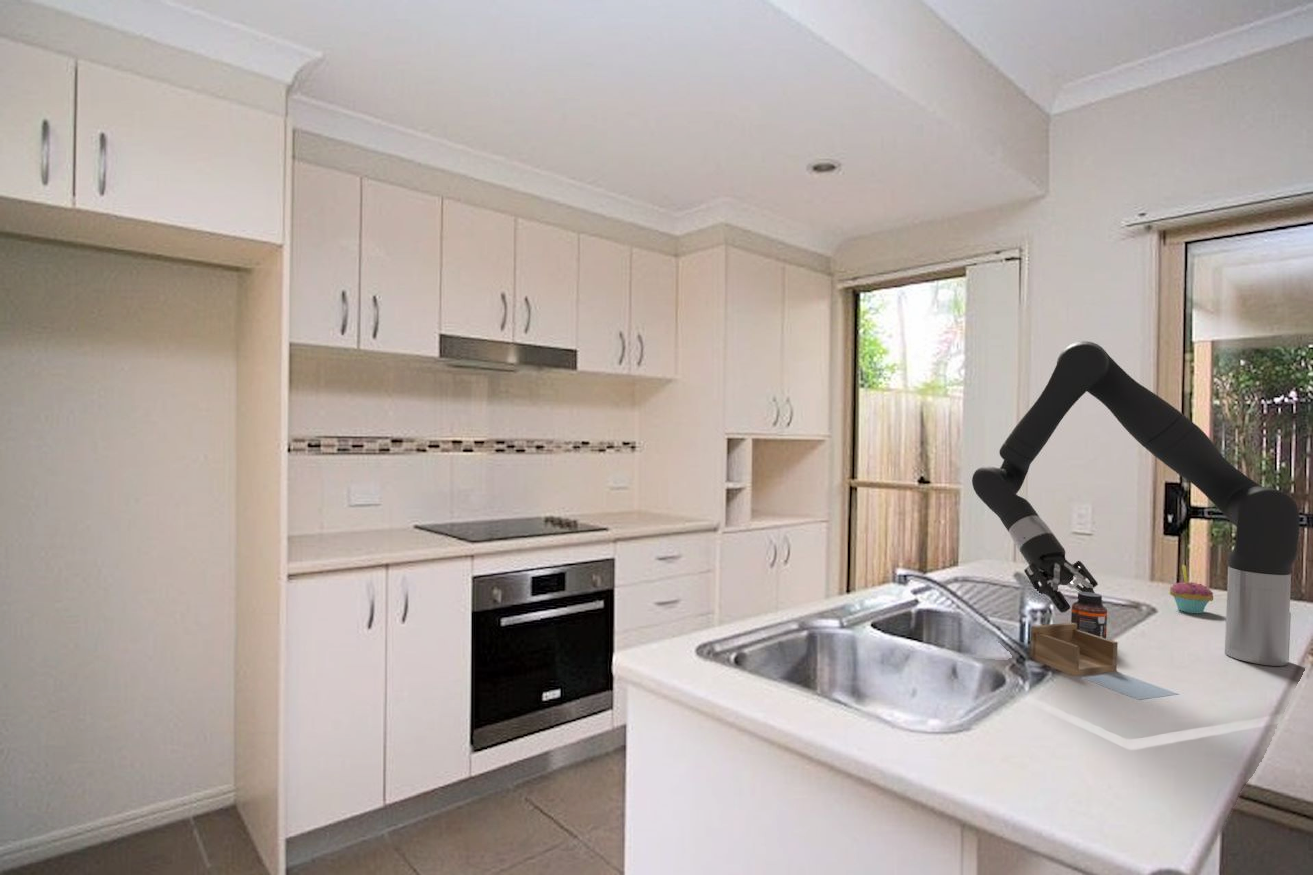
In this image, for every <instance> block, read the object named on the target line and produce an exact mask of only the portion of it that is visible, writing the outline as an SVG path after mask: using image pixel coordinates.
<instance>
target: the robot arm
mask: <svg viewBox="0 0 1313 875" xmlns="http://www.w3.org/2000/svg"><path fill="white" fill-rule="evenodd" d="M1086 393H1088V394H1089V395H1091V396H1092V397H1094V398H1095V399H1096V400H1098V402H1101V403H1102V404H1103V405H1104V406H1105V407H1106V408H1107V409H1108V410H1109V411H1110V412H1111V414H1112V415H1113V416H1114V417H1115V418H1116V420H1117V421H1118V422H1119V423H1120V424H1121V426H1122V427H1123V428H1124V429H1125V430H1126V431H1127V432H1128V433H1129V434H1130V435H1131V436H1132V437H1133V438H1134V439H1135V440H1136V441H1137V442H1138V443H1139V444H1140V445H1141V446H1142V447H1143V448H1145V450H1147V451H1148V452H1150V453H1151V454H1152V455H1153V456H1154V457H1155V458H1157V459H1158V460H1159V461H1161V462H1162V463H1163V464H1164V465H1165V466H1167V467H1168V468H1170V469H1171V470H1172V471H1174V472H1175V473H1176V474H1177V475H1180V476H1181V477H1182V478H1184V479H1185V480H1186V481H1188V482H1189V483H1191V484H1192V485H1193V486H1195V487H1196V488H1197V489H1198V490H1199V491H1200V492H1201V493H1203V494H1204V496H1206V498H1208V500H1209V501H1210V502H1211V503H1212V504H1214V506H1215V507H1216V508H1217V509H1218V510H1219V511H1220V512H1221V513H1222V514H1223V516H1225V517H1226V518H1227V519H1228V521H1230V523H1231V524H1232V525H1234V526H1235V527H1236V534H1235V544H1234V548H1233V549H1232V551H1230V552H1229V554H1228V564H1227V588H1226V589H1227V590H1226V592H1227V593H1226V609H1225V610H1226V612H1225V614H1226V615H1225V632H1224V633H1225V635H1224V654H1225V655H1227V656H1228V657H1231V658H1234V659H1236V660H1239V661H1243V662H1248V663H1252V664H1257V665H1263V666H1273V667H1279V666H1280V667H1283V666H1286V665H1288V662H1289V661H1290V644H1291V643H1290V641H1291V620H1292V617H1291V616H1292V613H1291V611H1290V607H1291V589H1292V588H1291V587H1292V586H1291V585H1292V581H1291V580H1292V569H1293V568H1292V566H1293V564H1294V562H1295V561H1296V558H1297V554H1298V547H1299V545H1298V544H1299V533H1300V518H1301V517H1300V511H1299V507H1298V504H1297V502H1296V501H1295V500H1294V498H1292V497H1291V496H1290V495H1289V494H1287V493H1285V492H1284V491H1282V490H1278V489H1274V488H1269V487H1264V486H1262V485H1261V484H1259V483H1258V482H1256V481H1255V480H1253V479H1251V478H1250V477H1248V476H1247V475H1246V474H1244V473H1243V472H1242V471H1240V470H1239V469H1238V468H1236V467H1235V466H1233V464H1231V463H1230V462H1229V461H1228V460H1227V459H1226V458H1225V457H1224V456H1223V454H1222V453H1221V452H1220V451H1219V449H1218V448H1217V447H1216V445H1215V444H1214V442H1213V441H1212V440H1211V438H1209V436H1208V435H1207V434H1206V433H1205V432H1204V431H1203V430H1202V429H1201V427H1199V426H1198V425H1197V424H1196V423H1195V422H1193V420H1191V419H1190V418H1188V417H1187V416H1186V415H1185V414H1184V413H1182V412H1181V411H1180V410H1178V409H1177V408H1176V407H1174V406H1172V404H1170V403H1169V402H1167V400H1165V399H1163V398H1162V397H1160V396H1159V395H1157V393H1154V392H1153V391H1152V390H1150V389H1148V388H1146V386H1143V385H1142V384H1140V383H1139V382H1138V381H1136V380H1135V379H1134V378H1133V377H1132V376H1130V375H1129V374H1128V373H1127V372H1126V371H1125V370H1124V369H1123V368H1122V367H1121V366H1120V365H1119V364H1118V363H1117V362H1116V361H1115V360H1114V359H1113V358H1112V357H1111V356H1110V355H1109V353H1108V352H1107V351H1106V350H1105V349H1104V348H1103V347H1102V346H1100V345H1099V344H1098V343H1095V342H1092V341H1089V340H1088V341H1086V340H1085V341H1084V340H1083V341H1077V342H1073V343H1071V344H1069V345H1068V346H1066V347H1065V348H1064V349H1063V350H1062V351H1061V352H1060V353H1059V356H1058V358H1057V361H1056V365H1055V367H1054V369H1053V372H1052V374H1051V376H1050V378H1049V380H1048V382H1047V384H1046V386H1045V387H1044V389H1043V390H1042V392H1041V394H1040V395H1039V397H1038V398H1037V399H1036V401H1035V402H1034V403H1033V405H1032V406H1031V407H1030V408H1029V410H1028V411H1027V412H1026V413H1025V414H1024V416H1022V418H1021V419H1020V421H1018V423H1017V424H1016V426H1015V427H1014V428H1013V430H1012V431H1011V432H1010V433H1009V435H1008V437H1007V438H1006V440H1005V441H1004V442H1003V444H1002V445H1001V447H1000V449H999V451H998V452H999V456H1000V457H1001V458H1002V459H1003V461H1002V464H1001V466H1000V467H994V466H990V465H989V466H987V465H986V466H981V467H979V468H977V469H976V470H975V471H974V473H973V475H972V478H971V484H972V487H973V491H974V492H975V493H976V495H977V497H978V498H979V499H980V500H981V501H982V502H983V503H984V504H985V505H986V506H987V507H988V509H990V510H991V511H992V512H993V513H994V514H995V515H997V517H998V518H999V520H1000V522H1001V524H1003V526H1004V527H1005V529H1006V531H1007V532H1008V533H1009V535H1010V537H1011V539H1012V541H1013V543H1014V545H1015V546H1016V548H1017V549H1018V551H1019V552H1020V554H1021V555H1022V557H1023V558H1024V559H1025V561H1026V563H1027V564H1028V566H1027V567H1026V568H1025V569H1023V571H1024V573H1025V575H1026V577H1027V579H1028V581H1029V582H1030V584H1031V585H1032V587H1033V589H1034V590H1035V589H1037V591H1039V593H1041V595H1042V594H1043V595H1045V596H1046V597H1048V598H1049V599H1050V600H1051V601H1052V603H1053V604H1054V606H1055V608H1056V609H1057V610H1058V611H1059V613H1067V611H1069V610H1070V609H1071V605H1070V604H1069V602H1068V600H1067V599H1066V598H1065V596H1064V595H1063V593H1062V592H1061V591H1060V590H1059V586H1067V587H1068V588H1070V589H1075V590H1076V591H1077V592H1091V593H1096V592H1095V590H1094V589H1095V587H1097V586H1098V585H1099V583H1098V582H1097V580H1096V579H1095V578H1094V576H1093V574H1092V573H1091V572H1090V571H1089V570H1088V569H1087V567H1086V566H1085V565H1084V564H1083V562H1082V561H1080V560H1077V561H1076V562H1074V563H1071V562H1069V561H1068V560H1067V559H1066V550H1065V548H1064V547H1063V546H1062V544H1061V543H1060V541H1059V540H1058V538H1057V537H1056V535H1055V534H1054V533H1053V532H1052V530H1051V529H1050V527H1049V526H1048V525H1047V523H1046V522H1044V520H1043V519H1042V518H1041V517H1040V516H1039V514H1038V513H1037V511H1036V510H1035V509H1034V507H1033V505H1032V504H1031V503H1030V502H1029V501H1028V500H1027V499H1026V498H1024V497H1022V496H1019V495H1017V494H1018V492H1019V491H1020V490H1021V488H1022V486H1023V484H1024V482H1025V479H1026V477H1027V475H1028V472H1029V469H1030V466H1031V464H1032V463H1033V461H1035V459H1036V457H1037V456H1038V455H1039V454H1040V452H1041V450H1043V448H1044V446H1045V445H1047V442H1048V441H1049V440H1050V438H1051V437H1052V435H1053V434H1054V432H1055V430H1056V429H1057V428H1058V426H1059V424H1060V423H1061V421H1062V420H1063V418H1064V417H1065V416H1066V415H1067V414H1068V412H1069V411H1070V410H1071V408H1072V407H1073V406H1074V405H1075V404H1076V403H1077V401H1078V400H1079V399H1080V398H1082V396H1083V395H1084V394H1086ZM1074 577H1075V578H1076V579H1074ZM1101 603H1102V604H1103V601H1102V602H1101Z"/></svg>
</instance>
